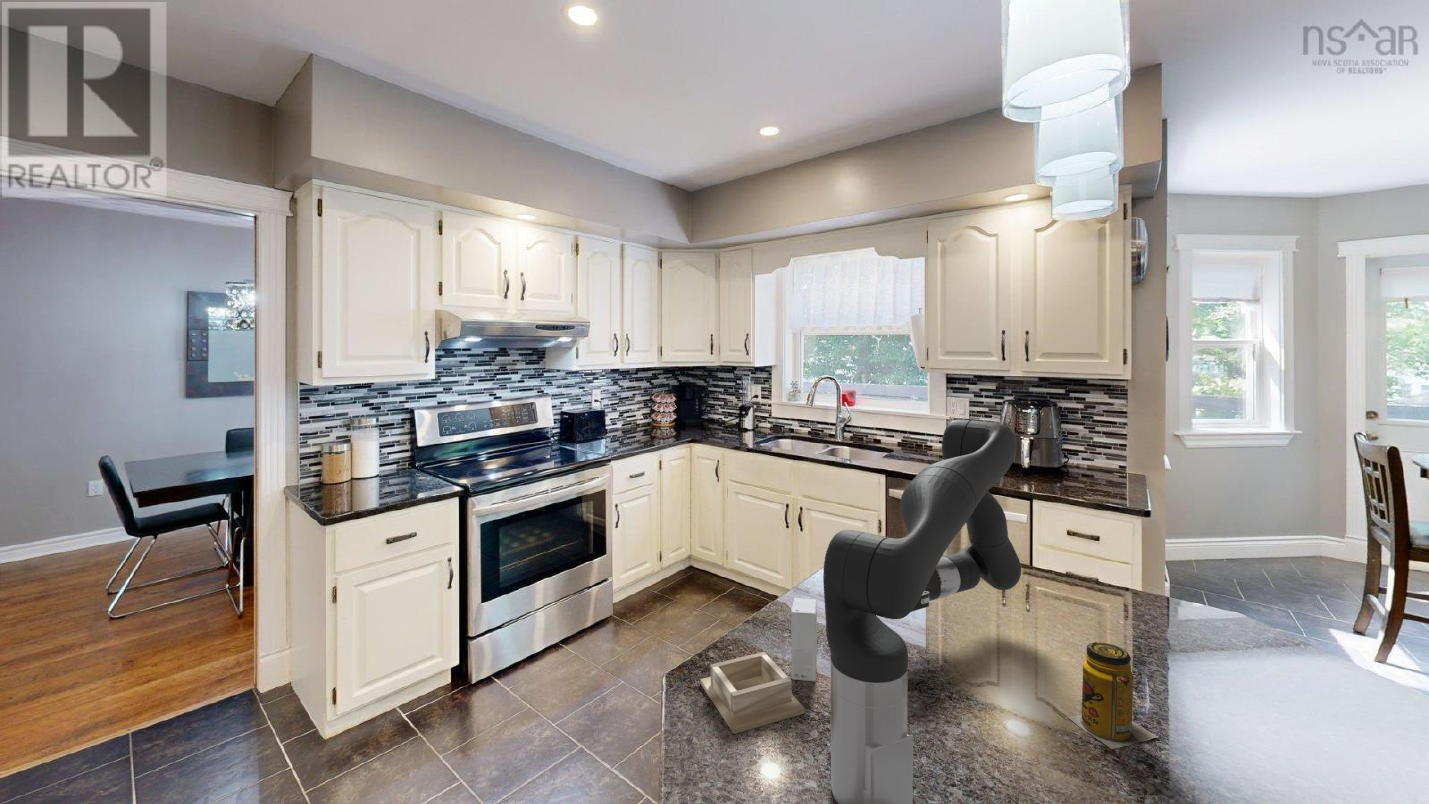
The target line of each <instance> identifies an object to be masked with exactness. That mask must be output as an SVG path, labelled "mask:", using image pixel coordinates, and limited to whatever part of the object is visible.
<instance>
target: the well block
mask: <svg viewBox="0 0 1429 804" xmlns="http://www.w3.org/2000/svg"><path fill="white" fill-rule="evenodd" d="M709 667H710V668H709V669H710V671H709V672H710V674H709V676H708V677H703V678H700V683H699V684H700V685H701V687H702V688H703V690H704V691H705V693H706V694H707V696H708V697H709V699H710V700H711V701H712V703H713V705H714V706H715V708H716V709H717V711H718V712H719V714H720V715H721V717H722V718H723V720H724V721H725V723H726V725H727V726H728V727H729V729H730V730H731V732H732V733H733V734H734V735H736V734H739V733H742V732H746V731H749V730H753V729H755V728H760V727H763V726H765V725H770V724H773V723H777V722H781V721H783V720H787V719H790V718H793V717H797V716H800V715H804V714H805V713H806V711H805V710H806V708H805V707H804V706H803V705H802V704H801V703H800V701H799V700H798V699H797V698H796V697H795V696H794V695H793V694H792V693H793V692H792V689H793V688H792V686H793V683H792V681H793V679H792V678H790V677H789V676H788V675H787V674H786V673H785V672H784V671H783V670H782V669H781V667H779V666H778V665H777V664H776V663H775V662H774V660H773V659H772V658H770V656H769V655H768V654H767V653H766V652H765V651H761V652H757V653H753V654H750V655H749V654H748V655H745V656H740V657H736V658H732V659H728V660H727V659H726V660H723V661H720V662H716V663H712V664H710V665H709Z"/></svg>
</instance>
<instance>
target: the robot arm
mask: <svg viewBox="0 0 1429 804" xmlns="http://www.w3.org/2000/svg"><path fill="white" fill-rule="evenodd" d="M1017 446H1018V443H1017V437H1016V435H1015V432H1014V431H1013V429H1011V428H1010V427H1009V426H1008V425H1007V424H1002V423H999V422H995V421H992V422H991V421H985V420H984V421H983V420H975V419H974V420H972V419H954V420H953V419H952V420H951V421H949V423H948V424H947V425H946V426H945V429H944V431H943V435H942V439H941V452H942V453H941V454H942V458H943V460H941V461H940V460H939V461H937V462H933V463H932V464H929V466H926V467H924V468H923V469H922V470H921V471H920V472H919V473H917V475H916V476H915V477H914V478H913V479H912V480H911V481H910V482H909V483H908V485H907V486H906V487H905V488H904V491H903V492H902V494H901V497H900V512H901V517H902V520H903V524H904V525H905V528H906V530H907V532H908V534H907V535H906V536H904V537H902V538H894V537H889V536H885V535H879V534H873V533H869V532H865V531H859V530H854V529H853V530H852V529H843V530H841V531H838V532H837V533H835V535H834V536H833V537H832V539H831V540H830V541H829V544H828V545H827V549H826V553H825V556H824V562H823V574H822V575H823V576H822V577H823V578H822V579H823V597H824V613H825V633H826V640H827V644H828V647H829V649H830V764H831V765H830V768H831V769H830V777H831V778H830V781H831V782H830V783H831V784H830V785H831V787H830V788H831V792H832V793H831V794H832V796H833V798H834V801H835V802H836V803H837V804H913V802H914V801H913V798H914V797H913V788H914V787H913V784H914V783H913V782H914V781H913V780H914V779H913V777H914V773H913V771H914V770H913V767H914V763H913V762H914V739H913V737H912V735H911V734H910V733H909V732H908V689H909V688H908V683H909V682H908V680H909V679H908V676H909V675H908V674H909V673H908V670H909V669H908V668H909V654H908V653H909V651H908V646H907V643H906V642H905V640H904V639H903V638H902V637H901V635H899V634H898V633H897V632H896V631H895V630H893V629H892V628H891V627H890V626H888V625H887V624H886V623H885V622H883V621H882V620H881V619H880V618H879V617H881V618H884V619H888V620H889V619H890V620H901V619H904V618H906V617H907V616H908V615H909V614H911V613H912V612H915V611H918V610H922V609H925V608H929V607H930V602H931V601H935V600H939V599H944V598H946V597H949V596H951V595H954V594H957V593H962V592H965V591H969V590H971V589H974V588H976V587H977V586H978V585H979V583H980V581H981V579H982V580H984V581H985V582H986V583H987V584H988V585H990V587H992V588H994V589H996V590H997V591H998V590H999V591H1008V590H1011V589H1013V588H1014V587H1015V586H1016V585H1017V584H1018V583H1019V581H1020V578H1021V576H1022V565H1021V562H1020V558H1019V557H1018V554H1017V552H1016V550H1015V547H1014V545H1013V544H1012V541H1011V540H1010V537H1009V531H1008V525H1007V524H1008V523H1007V517H1006V513H1005V511H1004V509H1003V508H1002V506H1001V504H1000V503H999V501H998V500H997V498H995V497H994V495H993V494H992V493H991V492H990V491H989V490H990V489H991V488H993V486H995V485H996V484H997V483H998V482H999V481H1000V480H1001V479H1002V478H1003V477H1004V476H1005V475H1006V474H1007V473H1008V471H1009V470H1010V467H1011V466H1012V464H1013V462H1014V459H1015V457H1016V453H1017ZM965 525H966V529H967V535H968V540H969V542H970V543H969V544H968V545H967V546H965V547H964V548H962V549H960V550H959V551H957V552H956V553H953V554H952V553H951V554H948V555H945V556H943V555H944V554H945V552H946V550H947V549H948V547H949V546H950V544H951V543H952V541H953V540H954V539H955V537H956V536H957V534H958V533H959V532H960V531H961V529H962V528H963V527H964V526H965Z"/></svg>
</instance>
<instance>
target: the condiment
mask: <svg viewBox="0 0 1429 804" xmlns="http://www.w3.org/2000/svg"><path fill="white" fill-rule="evenodd" d="M1131 661H1132V657H1131V656H1130V654H1129V652H1128V651H1127V650H1125V649H1124V648H1122V647H1120V646H1118V645H1115V644H1112V643H1107V642H1102V641H1094V642H1091V643H1088V645H1087V646H1086V655H1085V661H1083V664H1082V687H1081V714H1077V715H1073V716H1067V719H1069V720H1070V721H1072V722H1073V723H1074V724H1076V725H1077V726H1078V727H1080V728H1081V729H1083V731H1085V732H1086V733H1088V734H1089V735H1091V736H1092V737H1093V738H1095V739H1096V740H1097V741H1099V742H1102V744H1103V745H1106V746H1107V747H1108V748H1109V749H1110V750H1112V749H1113V750H1114V749H1119V748H1123V747H1129V746H1130V745H1135V744H1138V743H1140V742H1146V741H1150V740H1152V739H1155V738H1156V739H1157V738H1159V736H1158V735H1156V734H1155V733H1153V732H1151V731H1149V730H1147V729H1146V728H1144V727H1143V726H1140V725H1139V724H1138V723H1136V722H1134V721H1133V706H1134V703H1133V702H1134V678H1135V677H1134V674H1133V673H1132V665H1131Z"/></svg>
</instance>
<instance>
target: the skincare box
mask: <svg viewBox="0 0 1429 804" xmlns="http://www.w3.org/2000/svg"><path fill="white" fill-rule="evenodd" d="M791 606H792V607H791V614H790V616H791V618H790V619H791V620H790V623H791V625H790V626H791V630H790V633H791V635H790V636H791V638H790V639H791V647H790V648H791V649H790V650H791V656H790V658H791V673H790V674H791V680H794V681H796V680H797V681H805V682H806V681H808V682H817V664H818V663H817V661H818V659H817V655H818V653H817V652H818V650H817V649H818V643H817V642H818V640H817V639H818V635H817V634H818V632H817V630H818V624H817V623H818V620H817V619H818V618H817V617H818V616H817V614H818V612H817V610H818V609H817V607H818V606H817V599H812V598H811V599H810V598H802V597H801V598H799V597H794V598H793V601H792V605H791Z"/></svg>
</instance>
